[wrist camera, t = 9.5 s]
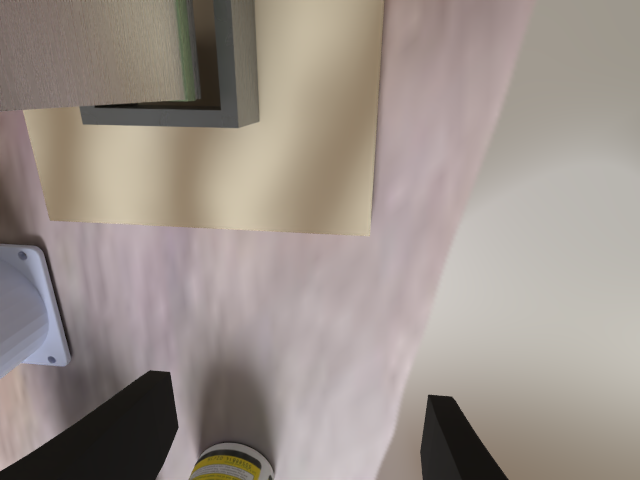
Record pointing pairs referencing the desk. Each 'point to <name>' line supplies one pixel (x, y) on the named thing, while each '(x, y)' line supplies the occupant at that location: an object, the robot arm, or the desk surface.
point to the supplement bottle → (231, 464)
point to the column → (96, 53)
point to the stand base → (238, 136)
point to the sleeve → (234, 81)
